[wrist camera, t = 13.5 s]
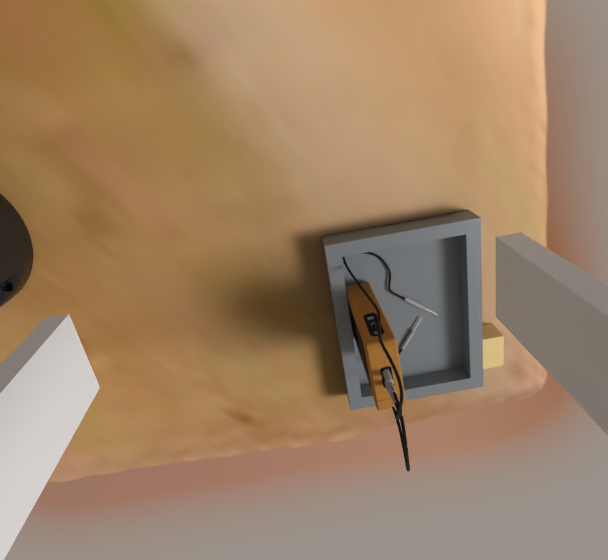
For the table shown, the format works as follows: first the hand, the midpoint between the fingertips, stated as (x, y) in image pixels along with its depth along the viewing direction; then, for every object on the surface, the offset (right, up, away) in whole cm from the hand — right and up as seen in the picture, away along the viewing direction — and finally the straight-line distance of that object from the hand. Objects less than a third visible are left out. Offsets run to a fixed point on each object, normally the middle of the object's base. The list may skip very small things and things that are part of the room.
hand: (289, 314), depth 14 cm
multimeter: (+10, -1, +39) cm, 40 cm away
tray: (+13, -2, +40) cm, 42 cm away
